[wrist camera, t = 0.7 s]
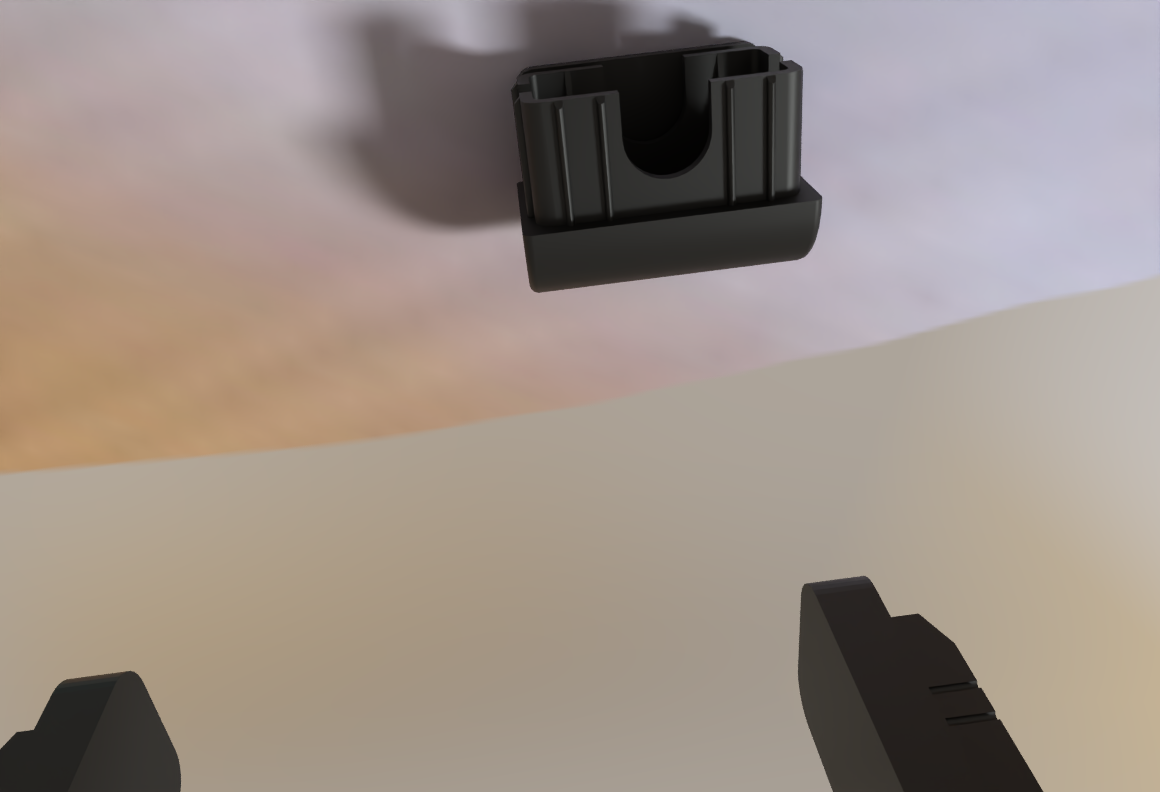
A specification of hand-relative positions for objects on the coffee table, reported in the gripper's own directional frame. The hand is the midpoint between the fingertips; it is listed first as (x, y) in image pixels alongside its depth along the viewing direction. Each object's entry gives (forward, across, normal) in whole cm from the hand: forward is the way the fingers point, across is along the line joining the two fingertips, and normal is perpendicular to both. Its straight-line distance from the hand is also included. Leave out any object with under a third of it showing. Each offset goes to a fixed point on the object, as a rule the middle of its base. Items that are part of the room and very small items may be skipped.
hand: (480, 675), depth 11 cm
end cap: (+28, -6, +2) cm, 28 cm away
